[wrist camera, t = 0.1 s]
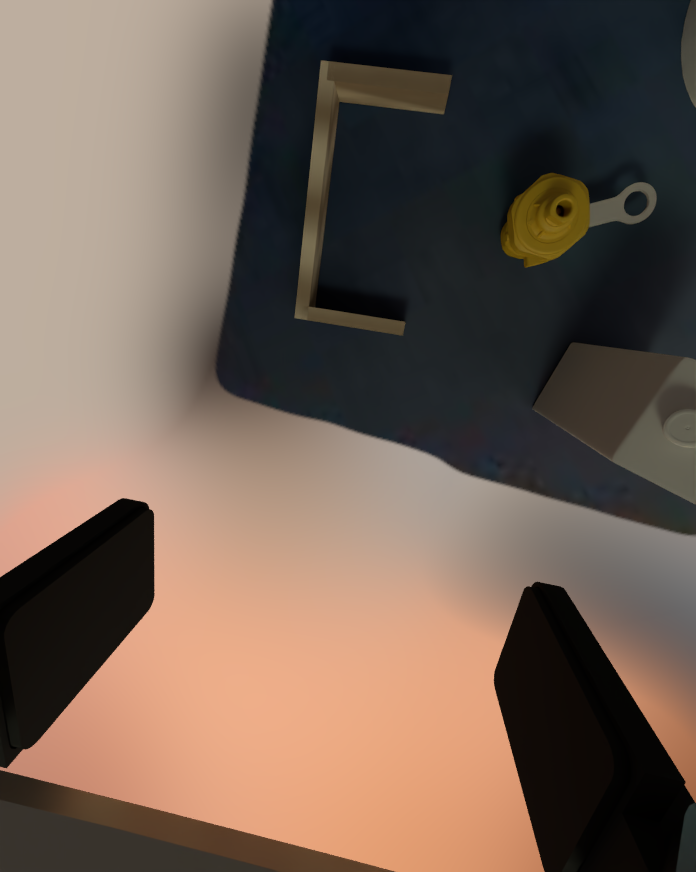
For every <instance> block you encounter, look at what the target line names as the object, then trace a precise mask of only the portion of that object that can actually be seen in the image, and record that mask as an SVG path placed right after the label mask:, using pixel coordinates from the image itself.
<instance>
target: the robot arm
mask: <svg viewBox="0 0 696 872" xmlns="http://www.w3.org/2000/svg"><path fill="white" fill-rule="evenodd" d="M153 600H154V513H153V511H152V510H150V509H149V506H148V504H147V503H145V502H140V501H135V500H130V499H124V498H122V499H120V500H118V501H116V502H115V503H113V504H112V505H110V506H109V507H107V508H106V509H104V510H103V511H101V512H100V513H98V514H96V515H95V516H94V517H92V518H90V519H89V520H87V521H86V522H84V523H83V524H81V525H80V526H78V527H77V528H75V529H74V530H72V531H71V532H69V533H67V534H66V535H64V536H63V537H61V538H60V539H58V540H57V541H55V542H54V543H52V544H51V545H49V546H47V547H46V548H44V549H43V550H41V551H40V552H38V553H37V554H35V555H34V556H32V557H31V558H29V559H27V560H26V561H24V562H23V563H21V564H20V565H18V566H17V567H15V568H14V569H12V570H11V571H9V572H8V573H6V574H5V575H3V576H2V577H0V767H3V768H7V767H8V766H9V765H10V764H11V762H12V761H13V760H14V759H15V758H16V756H17V755H18V754H19V753H20V752H21V751H22V750H23V749H28V748H30V747H32V746H33V745H34V744H35V743H36V742H37V741H38V740H39V739H40V738H41V737H42V735H43V734H44V733H45V732H46V731H47V730H48V728H49V727H50V726H51V725H52V724H53V722H54V721H55V720H56V719H57V718H58V716H59V715H60V714H61V713H62V712H63V711H64V709H65V708H66V707H67V706H68V705H69V704H70V702H71V701H72V700H73V699H74V698H75V696H76V695H77V694H78V693H79V692H80V690H81V689H82V688H83V687H84V686H85V684H87V682H88V681H89V680H90V679H91V677H92V676H93V675H94V674H95V673H96V672H97V671H98V669H99V668H100V667H101V666H102V665H103V663H104V662H105V661H106V660H107V659H108V658H109V656H110V655H111V654H112V653H113V652H114V651H115V649H116V648H117V647H118V646H119V645H120V643H121V642H122V641H123V640H124V639H125V638H126V636H127V635H128V634H129V633H130V631H132V629H133V628H134V627H135V625H137V623H138V622H139V621H140V620H141V619H142V618H143V616H144V615H145V614H146V613H147V612H148V610H149V609H150V607H151V605H152V603H153ZM494 686H495V690H496V694H497V698H498V701H499V705H500V709H501V713H502V716H503V720H504V724H505V727H506V731H507V734H508V739H509V742H510V746H511V749H512V753H513V757H514V761H515V764H516V768H517V771H518V776H519V779H520V783H521V787H522V790H523V794H524V798H525V801H526V805H527V809H528V813H529V816H530V820H531V823H532V828H533V831H534V835H535V839H536V842H537V846H538V850H539V854H540V857H541V861H542V865H543V868H544V871H545V872H696V803H695V802H694V800H693V798H692V797H691V795H690V793H689V792H688V790H687V789H686V787H685V785H684V784H685V780H684V779H683V777H682V776H681V774H680V772H679V771H678V769H677V768H676V766H675V765H674V763H673V761H672V760H671V758H670V756H669V755H668V753H667V752H666V750H665V748H664V747H663V745H662V744H661V742H660V740H659V739H658V737H657V736H656V734H655V732H654V731H653V730H652V728H651V726H650V724H649V723H648V721H647V720H646V718H645V717H644V715H643V713H642V712H641V710H640V709H639V707H638V705H637V704H636V702H635V701H634V699H633V697H632V696H631V694H630V693H629V691H628V690H627V688H626V686H625V685H624V683H623V681H622V680H621V678H620V677H619V675H618V673H617V672H616V670H615V669H614V667H613V665H612V664H611V662H610V661H609V659H608V658H607V656H606V654H605V653H604V651H603V650H602V648H601V646H600V645H599V643H598V642H597V640H596V639H595V637H594V635H593V634H592V632H591V630H590V629H589V627H588V626H587V624H586V622H585V621H584V619H583V618H582V616H581V615H580V613H579V611H578V610H577V608H576V606H575V605H574V603H573V602H572V600H571V599H570V597H569V596H568V594H567V592H566V591H565V589H564V588H562V587H560V586H555V585H550V584H545V583H540V582H535V583H534V584H533V585H532V587H526V588H525V589H524V591H523V594H522V596H521V599H520V602H519V605H518V608H517V610H516V613H515V616H514V619H513V621H512V625H511V627H510V630H509V633H508V636H507V639H506V641H505V644H504V647H503V649H502V652H501V655H500V658H499V661H498V664H497V666H496V669H495V674H494ZM0 872H394V871H390V870H387V869H383V868H379V867H375V866H371V865H368V864H364V863H360V862H357V861H353V860H349V859H345V858H341V857H338V856H334V855H330V854H326V853H322V852H318V851H315V850H311V849H307V848H303V847H299V846H295V845H291V844H288V843H284V842H280V841H276V840H272V839H268V838H265V837H261V836H257V835H253V834H249V833H245V832H242V831H238V830H234V829H230V828H226V827H222V826H218V825H214V824H210V823H206V822H203V821H199V820H195V819H191V818H187V817H183V816H179V815H176V814H172V813H168V812H164V811H160V810H156V809H152V808H148V807H144V806H140V805H137V804H133V803H129V802H124V801H121V800H117V799H113V798H109V797H105V796H100V795H96V794H93V793H89V792H85V791H81V790H77V789H73V788H69V787H64V786H61V785H57V784H53V783H49V782H45V781H41V780H37V779H33V778H29V777H25V776H21V775H17V774H13V773H9V772H5V771H1V770H0Z"/></svg>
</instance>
